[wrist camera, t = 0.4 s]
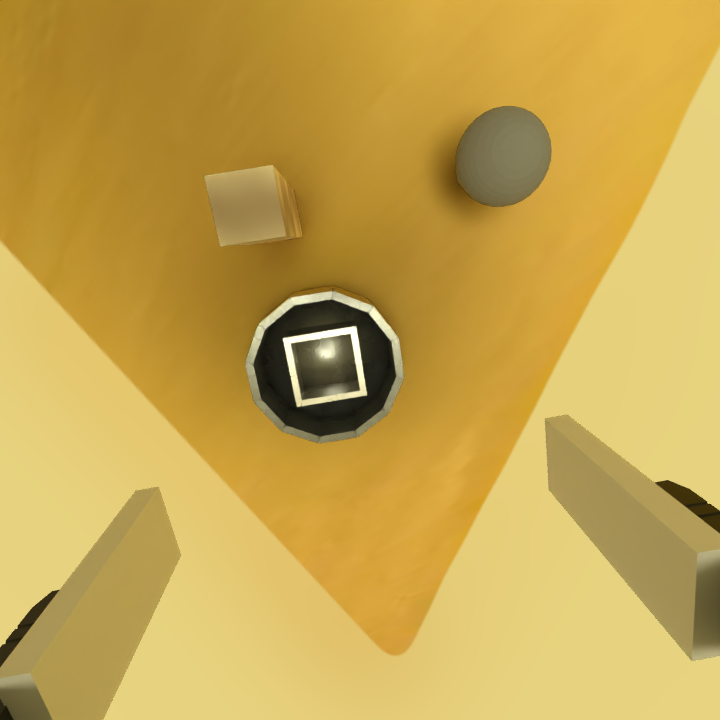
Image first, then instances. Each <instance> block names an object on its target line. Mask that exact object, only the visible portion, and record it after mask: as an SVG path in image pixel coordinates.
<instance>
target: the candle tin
mask: <svg viewBox="0 0 720 720" xmlns="http://www.w3.org/2000/svg"><path fill="white" fill-rule="evenodd" d="M245 363H246V364H245V366H246V370H247V375H248V379H249V383H250V388H251V392H252V396H253V401H255V404H256V405H257V406H258V407H259V408H260V409H261V410H262V411H263V412H264V414H265V415H266V416H267V417H268V418H269V419H270V420H271V421H272V422H273V423H274V424H275V425H276V426H277V427H278V428H279V429H280V431H281V430H282V432H285V433H288V434H291V435H294V436H297V437H300V438H303V439H306V440H309V441H313V442H316V443H326V442H332V441H338V440H344V439H350V438H356V437H357V436H358V437H359V436H360V435H361V434H363V433H364V432H365V431H367V430H368V429H369V428H370V427H372V426H373V425H374V424H376V423H377V422H378V421H380V420H381V419H382V418H384V417H385V416H386V415H387V414H388V413H389V412H390V410H391V407H392V405H393V403H394V400H395V398H396V396H397V393H398V391H399V389H400V386H401V384H402V382H403V379H404V372H403V365H402V358H401V350H400V343H399V338H398V336H397V335H396V333H395V332H394V330H393V329H392V327H391V326H390V325H389V323H388V322H387V321H386V320H385V318H384V317H383V316H382V315H381V313H380V312H379V311H378V310H377V308H376V307H375V306H374V305H373V303H372V302H371V301H370V300H369V299H367V298H364V297H362V296H359V295H357V294H355V293H353V292H350V291H347V290H344V289H341V288H338V287H335V286H334V287H333V286H328V287H320V288H312V289H308V290H303V291H297V292H294V293H293V294H292V295H291V296H289V297H288V298H287V299H286V300H285V301H283V302H282V303H281V304H280V305H279V306H277V307H276V308H275V309H274V310H273V311H271V312H270V313H269V314H268V315H267V316H266V317H265V318H264V319H263V320H262V321H261V322H260V323H259V325H258V326H257V329H256V332H255V335H254V338H253V341H252V344H251V347H250V350H249V353H248V356H247V359H246V362H245Z"/></svg>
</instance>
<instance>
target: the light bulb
mask: <svg viewBox="0 0 720 720" xmlns="http://www.w3.org/2000/svg"><path fill="white" fill-rule="evenodd" d="M550 161H551V141H550V138H549V134H548V132H547V130H546V128H545V126H544V124H543V123H542V122H541V120H540V119H539V118H538V117H537V116H536V115H534V114H533V113H532V112H530V111H528V110H526V109H523V108H519V107H515V106H502V107H498V108H493V109H491V110H489V111H487V112H485V113H483V114H482V115H481V116H479V117H478V118H476V119H475V120H474V121H473V122H472V123H471V124H470V125H469V127H468V128H467V129H466V131H465V133H464V134H463V136H462V138H461V140H460V142H459V145H458V148H457V153H456V163H455V166H456V177H457V180H458V182H459V184H460V185H461V186H462V188H463V189H464V191H465V192H466V193H467V194H468V195H469V196H470V197H471V198H473V199H474V200H475V201H477V202H479V203H481V204H484V205H488V206H493V207H503V206H508V205H513V204H516V203H518V202H520V201H522V200H524V199H525V198H527V197H528V196H530V195H531V194H532V193H533V192H534V191H535V190H536V189H537V188H538V186H539V185H540V184H541V182H542V181H543V179H544V177H545V175H546V173H547V171H548V168H549V164H550Z"/></svg>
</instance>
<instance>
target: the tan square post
mask: <svg viewBox="0 0 720 720" xmlns="http://www.w3.org/2000/svg"><path fill="white" fill-rule="evenodd" d="M204 179H205V183H206V187H207V192H208V196H209V200H210V205H211V209H212V213H213V218H214V222H215V226H216V231H217V235H218V240H219V244H220V247H222V246H238V245H254V244H263V243H270V242H276V241H282V240H288V239H295V238H301V237H303V236H302V230H301V225H300V219H299V214H298V208H297V203H296V197H295V192H294V190H293V189H292V187H291V186H290V185H289V184H288V183H287V181H286V180H285V179H284V178H283V177H282V175H281V174H280V173H279V172H278V171H277V169H276V168H275V167H274V166H273V165H269V166H262V167H256V168H250V169H243V170H237V171H231V172H224V173H218V174H212V175H205V176H204Z"/></svg>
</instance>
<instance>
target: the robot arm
mask: <svg viewBox="0 0 720 720" xmlns="http://www.w3.org/2000/svg"><path fill="white" fill-rule="evenodd" d="M545 430H546V448H547V466H548V483H549V490H550V492H551V493H552V494H553V495H554V496H555V498H556V499H557V500H558V501H559V502H560V504H561V505H562V506H563V507H564V509H566V511H567V512H568V513H569V514H570V516H571V517H572V518H573V519H574V520H575V522H576V523H577V524H578V525H579V526H580V528H581V529H582V530H583V531H584V532H585V534H586V535H587V536H588V537H589V538H590V540H591V541H592V542H593V543H594V544H595V546H596V547H597V548H598V549H599V550H600V552H601V553H602V554H603V555H604V556H605V558H606V559H607V560H608V561H609V562H610V564H611V565H612V566H613V567H614V568H615V570H616V571H617V572H618V573H619V574H620V576H621V577H622V578H623V579H624V580H625V582H626V583H627V584H628V585H629V586H630V587H631V589H632V590H633V591H634V592H635V594H637V596H638V597H639V598H640V600H641V601H642V602H643V603H644V604H645V606H646V607H647V608H648V609H649V610H650V612H651V613H652V614H653V615H654V616H655V618H656V619H657V620H658V621H659V622H660V624H661V625H662V626H663V627H664V628H665V630H666V631H667V632H668V633H669V634H670V635H671V637H672V638H673V639H674V640H675V641H676V643H677V644H678V645H679V646H680V647H681V649H682V650H683V651H684V652H685V653H686V655H687V656H688V657H689V658H690V659H691V660H692V661H695V660H701V659H706V658H711V657H717V656H720V511H719V510H718V509H717V508H715V507H714V506H712V505H711V504H707V501H705V500H704V499H703V498H701V497H700V496H698V495H697V494H696V493H694V492H693V491H691V490H690V489H688V488H686V487H683V486H680V485H678V484H676V483H674V482H671V481H669V480H666V481H661V482H655V483H654V482H653V481H652V480H650V479H649V478H648V477H647V476H645V475H644V474H642V473H641V472H640V471H639V470H638V469H636V468H635V467H634V466H632V465H631V464H630V463H629V462H627V461H626V460H625V459H623V458H622V457H621V456H620V455H618V454H617V453H616V452H615V451H613V450H612V449H611V448H609V447H608V446H607V445H606V444H604V443H603V442H601V441H600V440H599V439H598V438H597V437H595V436H594V435H593V434H592V433H590V432H589V431H588V430H586V429H585V428H584V427H583V426H581V425H580V424H579V423H577V422H576V421H575V420H574V419H572V418H571V417H570V416H568V415H563V416H556V417H551V418H545ZM180 556H181V554H180V550H179V547H178V545H177V541H176V539H175V535H174V532H173V529H172V526H171V523H170V520H169V517H168V514H167V511H166V508H165V505H164V502H163V499H162V496H161V493H160V490H159V487H154V488H149V489H143V490H138V491H135V492H134V494H133V495H132V496H131V498H130V499H129V500H128V502H127V503H126V504H125V505H124V507H123V508H122V510H121V511H120V512H119V513H118V515H117V516H116V517H115V519H114V520H113V521H112V522H111V524H110V525H109V527H108V528H107V529H106V530H105V532H104V533H103V534H102V536H101V537H100V538H99V539H98V541H97V542H96V543H95V545H94V546H93V547H92V549H91V550H90V551H89V553H88V554H87V555H86V556H85V558H84V559H83V560H82V562H81V563H80V564H79V565H78V567H77V568H76V569H75V571H74V572H73V573H72V575H71V576H70V577H69V578H68V580H67V581H66V583H65V584H64V585H63V586H62V588H61V589H60V590H57V591H52V592H51V593H49V594H48V595H47V596H46V597H45V598H43V599H42V600H41V601H40V602H39V603H37V604H36V605H35V606H34V607H33V608H32V609H31V610H30V611H29V612H28V614H27V615H26V616H25V618H24V619H23V620H22V621H21V622H20V624H19V625H18V629H15V630H14V631H13V632H12V634H11V635H10V636H9V638H8V639H7V640H6V644H4V645H2V646H1V647H0V720H103V719H104V717H105V715H106V712H107V710H108V708H109V706H110V704H111V702H112V700H113V698H114V695H115V694H116V691H117V689H118V687H119V685H120V683H121V681H122V679H123V677H124V674H125V672H126V670H127V668H128V666H129V664H130V662H131V660H132V658H133V656H134V653H135V651H136V649H137V647H138V645H139V643H140V641H141V639H142V637H143V634H144V632H145V630H146V628H147V626H148V624H149V622H150V620H151V618H152V615H153V613H154V611H155V609H156V607H157V605H158V603H159V601H160V598H161V596H162V594H163V592H164V590H165V588H166V586H167V584H168V582H169V579H170V577H171V575H172V573H173V571H174V569H175V566H176V565H177V563H178V560H179V558H180Z"/></svg>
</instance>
